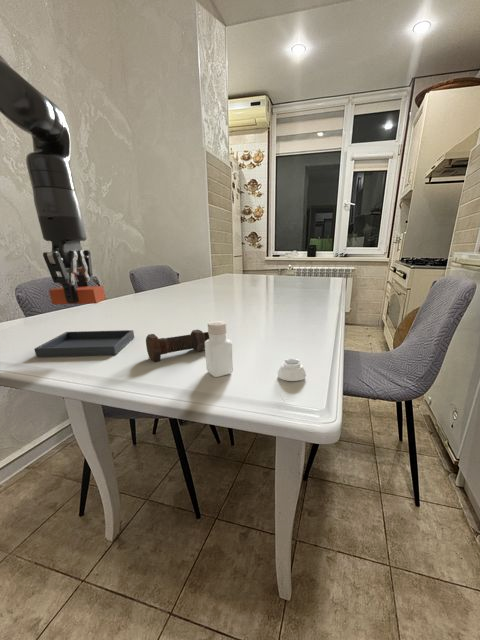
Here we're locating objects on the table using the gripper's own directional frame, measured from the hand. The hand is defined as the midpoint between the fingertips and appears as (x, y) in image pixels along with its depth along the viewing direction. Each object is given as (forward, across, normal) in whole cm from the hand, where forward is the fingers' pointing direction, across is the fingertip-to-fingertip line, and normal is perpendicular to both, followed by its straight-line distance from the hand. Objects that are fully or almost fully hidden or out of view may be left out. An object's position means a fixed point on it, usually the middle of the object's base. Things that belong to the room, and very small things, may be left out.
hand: (79, 299), depth 64 cm
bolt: (+11, +6, +23) cm, 26 cm away
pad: (0, 0, 0) cm, 0 cm away
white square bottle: (+11, +17, +31) cm, 37 cm away
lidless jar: (+11, +20, +44) cm, 50 cm away
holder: (+11, 0, 0) cm, 11 cm away
